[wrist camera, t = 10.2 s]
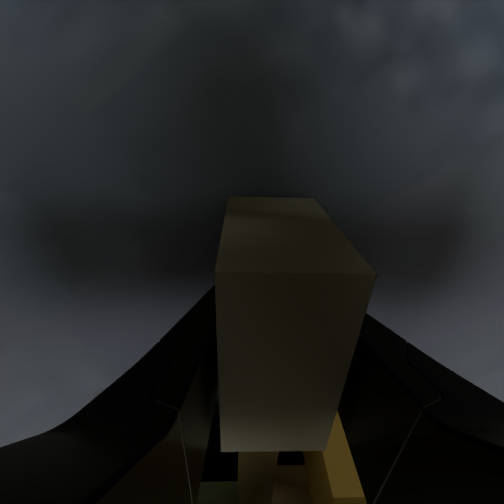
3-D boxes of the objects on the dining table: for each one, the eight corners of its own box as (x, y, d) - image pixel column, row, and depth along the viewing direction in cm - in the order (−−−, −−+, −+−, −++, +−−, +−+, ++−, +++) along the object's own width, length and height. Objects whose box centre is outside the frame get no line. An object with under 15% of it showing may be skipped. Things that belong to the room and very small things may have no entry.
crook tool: (230, 480, 18) (226, 597, 14) (228, 195, 9) (214, 271, 5) (337, 479, 19) (366, 592, 14) (438, 201, 10) (606, 276, 5)
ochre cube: (301, 443, 18) (318, 539, 14) (310, 399, 16) (333, 497, 12) (368, 442, 18) (404, 536, 14) (385, 398, 16) (434, 495, 12)
